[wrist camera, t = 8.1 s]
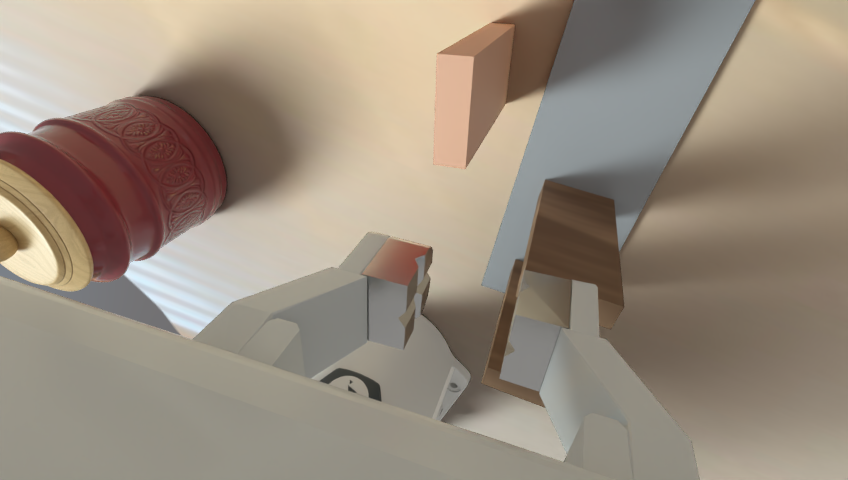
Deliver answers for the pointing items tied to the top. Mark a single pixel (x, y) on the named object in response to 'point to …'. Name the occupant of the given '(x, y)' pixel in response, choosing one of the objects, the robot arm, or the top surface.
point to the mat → (616, 107)
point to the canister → (103, 190)
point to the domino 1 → (470, 92)
